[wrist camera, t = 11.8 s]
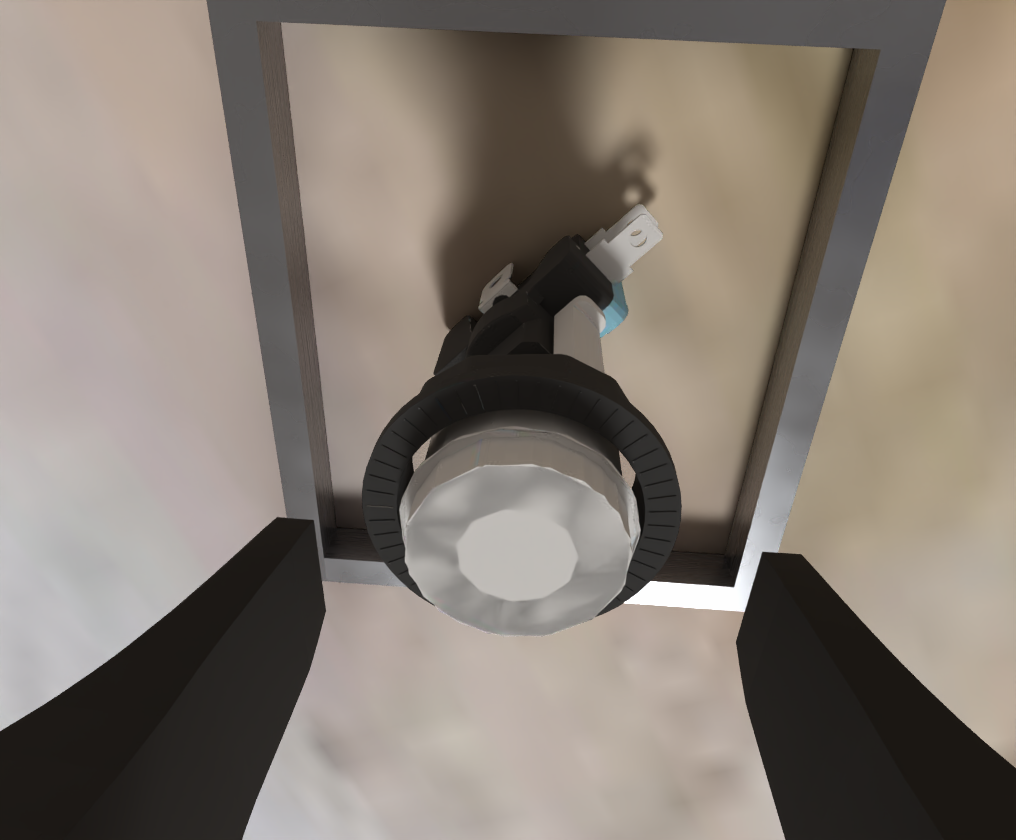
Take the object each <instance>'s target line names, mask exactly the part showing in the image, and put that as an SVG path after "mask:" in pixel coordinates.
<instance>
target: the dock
mask: <svg viewBox="0 0 1016 840" xmlns="http://www.w3.org/2000/svg"><path fill="white" fill-rule="evenodd" d="M945 3H946V0H207V6H208V12H209V19H210V25H211V32H212V38H213V45H214V51H215V58H216V64H217V70H218V77H219V83H220V90H221V96H222V103H223V109H224V115H225V122H226V128H227V135H228V141H229V148H230V154H231V160H232V167H233V173H234V180H235V186H236V193H237V199H238V206H239V212H240V218H241V225H242V231H243V238H244V244H245V251H246V257H247V263H248V270H249V276H250V283H251V289H252V296H253V302H254V308H255V315H256V321H257V328H258V334H259V341H260V347H261V354H262V360H263V366H264V373H265V379H266V386H267V392H268V399H269V405H270V411H271V418H272V424H273V431H274V437H275V444H276V450H277V456H278V463H279V469H280V476H281V482H282V489H283V495H284V502H285V508H286V514H287V518H294V519H308V520H314V524H315V532H316V539H317V547H318V555H319V562H320V570H321V578H322V581H330V582H344V583H358V584H372V585H385V586H399V587H406V586H405V585H404V584H403V583H402V582H401V581H400V580H399V579H398V578H397V577H396V576H395V575H394V574H393V573H392V572H391V570H390V569H389V568H388V567H387V565H386V564H385V563H384V561H383V560H382V559H381V557H380V556H379V554H378V552H377V550H376V549H375V547H374V545H373V543H372V540H371V538H370V536H369V534H368V530H359V529H345V528H336V520H335V511H334V502H333V493H332V484H331V475H330V466H329V457H328V448H327V439H326V430H325V421H324V412H323V403H322V394H321V385H320V376H319V367H318V358H317V349H316V340H315V331H314V322H313V313H312V304H311V295H310V286H309V277H308V268H307V259H306V250H305V241H304V232H303V223H302V214H301V205H300V196H299V187H298V178H297V169H296V160H295V151H294V142H293V133H292V124H291V115H290V106H289V97H288V88H287V79H286V70H285V60H284V51H283V42H282V33H281V24H280V22H289V23H311V24H333V25H355V26H376V27H398V28H420V29H442V30H464V31H486V32H508V33H530V34H551V35H573V36H595V37H617V38H639V39H661V40H683V41H704V42H726V43H748V44H770V45H792V46H814V47H836V48H854V51H853V55H852V59H851V63H850V67H849V70H848V74H847V78H846V82H845V86H844V90H843V94H842V98H841V102H840V106H839V110H838V113H837V117H836V121H835V125H834V129H833V133H832V137H831V141H830V145H829V149H828V153H827V157H826V160H825V164H824V168H823V172H822V176H821V180H820V184H819V188H818V192H817V196H816V200H815V204H814V207H813V211H812V215H811V219H810V223H809V227H808V231H807V235H806V239H805V243H804V247H803V251H802V254H801V258H800V262H799V266H798V270H797V274H796V278H795V282H794V286H793V290H792V294H791V298H790V301H789V305H788V309H787V313H786V317H785V321H784V325H783V329H782V333H781V337H780V341H779V345H778V348H777V352H776V356H775V360H774V364H773V368H772V372H771V376H770V380H769V384H768V388H767V392H766V395H765V399H764V403H763V407H762V411H761V415H760V419H759V423H758V427H757V431H756V435H755V438H754V442H753V446H752V450H751V454H750V458H749V462H748V466H747V470H746V474H745V478H744V482H743V485H742V489H741V493H740V497H739V501H738V505H737V509H736V513H735V517H734V521H733V525H732V529H731V532H730V536H729V540H728V544H727V548H726V552H725V555H717V554H702V553H688V552H674V551H671V553H670V555H669V557H668V559H667V560H666V562H665V563H664V565H663V566H662V568H661V570H660V571H659V572H658V573H657V574H656V576H655V577H654V578H653V579H652V580H651V581H650V582H649V583H648V584H647V585H646V586H645V587H644V588H643V589H642V590H641V591H640V592H638V593H637V594H636V595H635V596H633V597H632V598H631V599H629V600H628V601H626V602H624V603H634V604H648V605H661V606H675V607H689V608H703V609H716V610H730V611H744V612H745V609H746V606H747V602H748V599H749V596H750V592H751V589H752V585H753V582H754V578H755V575H756V571H757V568H758V564H759V561H760V558H761V554H762V552H775V553H778V550H779V547H780V543H781V540H782V537H783V534H784V530H785V527H786V524H787V521H788V517H789V514H790V511H791V507H792V504H793V501H794V498H795V494H796V491H797V488H798V484H799V481H800V478H801V475H802V471H803V468H804V465H805V462H806V458H807V455H808V452H809V448H810V445H811V442H812V439H813V435H814V432H815V429H816V425H817V422H818V419H819V416H820V412H821V409H822V406H823V403H824V399H825V396H826V393H827V389H828V386H829V383H830V380H831V376H832V373H833V370H834V366H835V363H836V360H837V357H838V353H839V350H840V347H841V344H842V340H843V337H844V334H845V330H846V327H847V324H848V321H849V317H850V314H851V311H852V307H853V304H854V301H855V298H856V294H857V291H858V288H859V285H860V281H861V278H862V275H863V271H864V268H865V265H866V262H867V258H868V255H869V252H870V248H871V245H872V242H873V239H874V235H875V232H876V229H877V226H878V222H879V219H880V216H881V212H882V209H883V206H884V203H885V199H886V196H887V193H888V189H889V186H890V183H891V180H892V176H893V173H894V170H895V167H896V163H897V160H898V157H899V153H900V150H901V147H902V144H903V140H904V137H905V134H906V130H907V127H908V124H909V121H910V117H911V114H912V111H913V108H914V104H915V101H916V98H917V94H918V91H919V88H920V85H921V81H922V78H923V75H924V71H925V68H926V65H927V62H928V58H929V55H930V52H931V49H932V45H933V42H934V39H935V35H936V32H937V29H938V26H939V22H940V19H941V16H942V12H943V9H944V6H945Z"/></svg>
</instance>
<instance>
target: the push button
mask: <svg viewBox="0 0 1016 840" xmlns="http://www.w3.org/2000/svg"><path fill="white" fill-rule="evenodd" d="M631 220H633V221H632V222H631V223H630V224H629V225H628V226H627V224H628V223H629V222H630V221H631ZM636 230H641V232H640V233H639V234H637V235H631V234H632V232H634V231H636ZM662 237H663V233H662V232H661V231H660V230H659V228H658V222H657V221H656V220H655V218H654V217H653V216H652V215H651V214H650V213H649V211H648V210H647V209H646V208H645V207H644V206H643V205H642V204H637V205H635V206H634V207H633V208H632V209H631V210H630V211H629V212H628V213H626V214H625V215H624V216H623V217H622V218H621V219H620V220H619V221H618V222H616V223H615V224H614V225H613V226H612V227H611V228H610V229H609V230H607V231H605V230H604V229H603V228H601V229H600V230H599V231H598V232H596V233H595V234H594V235H593V236H592V237H591V238H590V239H589V240H588V241H586V242H585V241H584V240H583V239H582V238H581V237H580V236H579V235H578V234H577V235H575V236H573V237H572V238H571V237H570V236H566V237H564V238H563V239H561V240H560V241H559V242H558V243H557V244H556V245H555V246H553V247H552V248H551V249H550V250H549V252H548V253H547V254H546V255H545V257H544V259H543V260H542V262H541V263H540V265H539V266H538V268H537V269H536V271H534V272H533V273H532V274H531V275H530V276H529V277H528V278H527V279H526V280H525V281H523V282H522V283H521V284H520V285H519V286H518V287H516V286H515V285H514V284H513V283H512V281H511V280H510V279H511V278H512V272H513V266H514V265H513V264H512V263H510V264H508V265H507V266H506V267H505V268H504V269H503V270H502V271H500V272H499V273H498V274H497V275H496V276H495V277H494V278H493V279H492V280H491V281H490V282H489V283H488V284H487V285H486V286H485V288H484V289H483V291H482V295H481V299H480V304H481V305H479V307H478V308H479V310H480V311H481V312H482V313H483V314H484V315H483V316H482V317H481V318H480V319H479V321H478V322H475V321H474V320H473V319H472V318H471V317H470V316H466V317H465V318H463V319H462V320H461V321H460V322H459V323H458V324H457V325H456V326H455V327H454V328H452V330H451V331H450V332H449V333H448V334H447V336H446V337H445V339H444V342H443V345H442V348H441V351H440V354H439V357H438V361H437V364H436V367H435V370H434V375H435V376H434V377H432V378H431V379H429V380H428V381H427V382H426V383H425V384H424V386H423V388H422V390H421V392H420V393H419V394H418V395H417V396H415V397H414V398H413V399H412V400H410V401H409V402H408V403H407V404H406V405H404V406H403V407H402V408H401V409H400V410H399V411H398V412H397V413H396V414H395V416H394V417H393V418H392V419H391V420H390V422H389V423H388V424H387V426H386V427H385V428H384V430H383V431H382V433H381V435H380V437H379V439H378V440H377V442H376V445H375V447H374V449H373V452H372V454H371V457H370V460H369V462H368V465H367V467H366V472H365V476H364V480H363V489H362V508H363V514H364V520H365V524H366V527H367V530H368V534H369V536H370V538H371V540H372V543H373V545H374V547H375V549H376V550H377V552H378V554H379V556H380V557H381V559H382V560H383V561H384V563H385V564H386V565H387V567H388V568H389V569H390V570H391V572H392V573H393V574H394V575H395V576H396V577H397V578H398V579H399V580H400V581H401V582H402V583H403V584H404V585H405V586H406V587H408V588H409V589H410V590H411V591H413V592H414V593H415V594H417V595H418V596H419V597H421V598H422V599H424V600H426V601H427V602H429V603H430V604H432V605H434V606H436V608H437V609H438V610H439V611H440V612H442V613H444V614H446V615H449V616H450V617H451V618H453V619H454V620H455V621H457V622H458V623H460V624H464V625H467V626H470V627H474V628H477V629H479V630H481V631H483V632H486V633H488V634H497V635H500V636H545V635H552V634H555V633H557V632H560V631H563V630H565V629H568V628H571V627H573V626H576V625H579V624H581V623H584V622H587V621H589V620H592V619H593V618H594V617H597V616H599V615H602V614H604V613H606V612H608V611H610V610H612V609H614V608H616V607H618V606H620V605H621V604H623V603H624V602H626V601H628V600H629V599H631V598H632V597H633V596H635V595H636V594H637V593H638V592H640V591H641V590H642V589H643V588H644V587H645V586H646V585H647V584H648V583H649V582H650V581H651V580H652V579H653V578H654V577H655V576H656V574H657V573H658V572H659V571H660V570H661V568H662V566H663V565H664V563H665V562H666V560H667V559H668V557H669V555H670V553H671V551H672V549H673V547H674V544H675V541H676V538H677V535H678V532H679V526H680V521H681V507H682V505H681V493H680V488H679V483H678V479H677V475H676V470H675V466H674V464H673V461H672V458H671V455H670V453H669V451H668V449H667V447H666V445H665V443H664V441H663V439H662V438H661V436H660V435H659V433H658V432H657V430H656V429H655V428H654V426H653V425H652V424H651V423H650V422H649V421H648V419H647V418H646V417H645V416H644V415H643V414H642V413H641V412H640V411H639V410H638V409H636V408H635V407H634V406H633V405H632V404H631V403H630V402H629V401H628V399H627V397H626V396H625V394H624V393H623V391H622V389H621V388H620V386H619V385H618V383H617V381H616V380H614V379H613V378H612V377H611V376H609V375H607V374H605V373H604V365H603V357H602V348H601V340H600V338H601V337H603V336H604V335H605V334H606V333H607V334H608V333H610V332H611V331H612V330H613V329H615V328H616V327H617V326H618V325H619V324H620V323H621V322H622V321H623V320H624V319H625V318H626V316H627V314H628V307H627V305H626V301H625V296H624V292H623V287H622V282H621V281H622V280H623V279H625V278H626V277H627V276H628V275H629V274H631V273H632V272H633V269H632V268H631V267H630V266H631V265H632V264H633V263H634V262H636V261H637V260H638V259H639V258H640V257H641V256H643V255H644V254H645V253H646V252H647V251H648V250H650V249H651V248H652V247H653V246H654V245H655V244H657V243H658V242H659V241H660V240H661V239H662ZM645 238H646V241H645V242H644V244H643V245H641V246H637V245H638V244H640V243H641V242H642V241H643V240H644V239H645ZM500 278H501V279H500ZM499 279H500V280H499ZM498 280H499V281H498ZM497 281H498V282H497ZM496 282H497V283H496ZM495 283H496V284H495ZM494 284H495V285H494ZM429 438H431V441H430V444H429V448H428V451H427V455H426V458H425V461H423V462H422V463H421V464H420V466H419V467H418V468H417V469H416V470H415V472H414V469H413V463H412V456H413V455H414V454H415V452H416V451H417V450H418V449H419V448H420V447H421V446H422V445H423V444H424V443H425V442H426V441H427V440H428V439H429ZM619 451H620V452H621V453H622V454H623V456H624V457H625V458H626V459H627V460H628V462H629V463H630V465H631V466H632V468H633V470H634V471H635V473H636V475H635V481H634V484H633V487H632V489H631V488H630V486H629V485H628V484H627V482H626V481H625V480H624V478H623V477H622V471H621V464H620V457H619Z"/></svg>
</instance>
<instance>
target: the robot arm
mask: <svg viewBox="0 0 1016 840" xmlns="http://www.w3.org/2000/svg"><path fill="white" fill-rule="evenodd" d="M325 612H326V608H325V601H324V593H323V585H322V578H321V570H320V562H319V555H318V547H317V539H316V532H315V524H314V520H308V519H294V518H280V517H277V518H276V519H275V520H273V521H272V522H271V523H270V524H269V525H268V526H266V527H265V528H264V529H263V530H262V531H261V532H260V533H259V534H257V535H256V536H255V537H254V538H253V539H252V540H251V541H250V542H249V543H248V544H247V545H245V546H244V547H243V548H242V549H241V550H240V551H239V552H238V553H237V554H236V555H235V556H233V557H232V558H231V559H230V560H229V561H228V562H227V563H226V564H225V565H223V566H222V567H221V568H220V569H219V570H218V571H217V572H216V573H215V574H214V575H212V576H211V577H210V578H209V579H208V580H207V581H206V582H204V583H203V584H202V585H201V586H200V587H199V588H197V589H196V590H195V591H194V592H193V593H192V594H191V595H189V596H188V597H187V598H186V599H185V600H184V601H183V602H181V603H180V604H179V605H178V606H177V607H176V608H174V609H173V610H172V611H171V612H170V613H168V614H167V615H166V616H165V617H163V618H162V619H161V620H160V621H158V622H157V623H156V624H155V625H153V626H152V627H151V628H150V629H148V630H147V631H146V632H145V633H143V634H142V635H141V636H140V637H138V638H137V639H136V640H135V641H133V642H132V643H131V644H130V645H128V646H127V647H126V648H124V649H123V650H122V651H121V652H119V653H118V654H117V655H115V656H114V657H112V658H111V659H110V660H108V661H107V662H106V663H104V664H103V665H102V666H100V667H99V668H97V669H96V670H95V671H93V672H92V673H90V674H89V675H87V676H86V677H84V678H83V679H82V680H80V681H79V682H77V683H76V684H74V685H73V686H71V687H70V688H68V689H67V690H65V691H64V692H62V693H61V694H60V695H58V696H57V697H55V698H53V699H52V700H50V701H49V702H47V703H46V704H44V705H43V706H41V707H39V708H38V709H36V710H34V711H33V712H31V713H30V714H28V715H26V716H25V717H23V718H21V719H20V720H18V721H16V722H15V723H13V724H11V725H10V726H8V727H6V728H5V729H3V730H2V731H0V840H242V838H243V835H244V832H245V829H246V826H247V824H248V821H249V818H250V815H251V813H252V810H253V807H254V805H255V802H256V799H257V797H258V794H259V792H260V790H261V787H262V785H263V782H264V780H265V778H266V775H267V773H268V770H269V768H270V765H271V763H272V761H273V758H274V756H275V753H276V751H277V749H278V746H279V744H280V741H281V739H282V736H283V734H284V732H285V729H286V727H287V724H288V722H289V720H290V717H291V715H292V712H293V710H294V707H295V705H296V702H297V700H298V698H299V695H300V693H301V690H302V688H303V685H304V683H305V680H306V678H307V675H308V673H309V670H310V667H311V664H312V660H313V657H314V653H315V650H316V646H317V643H318V639H319V635H320V631H321V628H322V624H323V620H324V616H325ZM736 645H737V652H738V658H739V665H740V672H741V678H742V684H743V690H744V695H745V701H746V705H747V709H748V713H749V716H750V720H751V723H752V727H753V730H754V734H755V737H756V741H757V744H758V748H759V751H760V755H761V758H762V762H763V765H764V768H765V772H766V775H767V779H768V782H769V785H770V789H771V792H772V796H773V799H774V802H775V806H776V809H777V813H778V816H779V819H780V823H781V826H782V830H783V833H784V836H785V840H1016V768H1015V767H1014V766H1012V765H1011V764H1010V763H1009V762H1008V761H1006V760H1005V759H1004V758H1003V757H1002V756H1001V755H999V754H998V753H997V752H996V751H995V750H993V749H992V748H991V747H990V746H989V745H988V744H986V743H985V742H984V741H983V740H982V739H981V738H980V737H978V736H977V735H976V734H975V733H974V732H973V731H972V730H971V729H969V728H968V727H967V726H966V725H965V724H964V723H963V722H962V721H961V720H960V719H958V718H957V717H956V716H955V715H954V714H953V713H952V712H951V711H950V710H949V709H948V708H947V707H946V706H945V705H944V704H943V703H942V702H941V701H940V700H939V699H937V698H936V697H935V696H934V695H933V694H932V693H931V692H930V691H929V690H928V689H927V688H926V687H925V686H924V685H923V684H922V683H921V682H920V681H919V680H918V679H917V678H916V677H915V676H914V675H913V674H912V673H911V672H910V671H909V670H908V669H907V668H906V667H905V666H904V665H903V664H902V663H901V662H900V661H899V660H898V659H897V658H896V657H895V656H894V655H893V654H892V653H891V652H890V651H889V650H888V649H887V648H886V647H885V645H884V644H883V643H882V642H881V641H880V640H879V639H878V638H877V637H876V636H875V635H874V634H873V633H872V632H871V631H870V629H869V628H868V627H867V626H866V625H865V624H864V623H863V622H862V621H861V620H860V619H859V618H858V616H857V615H856V614H855V613H854V612H853V611H852V610H851V609H850V608H849V607H848V605H847V604H846V603H845V602H844V601H843V600H842V599H841V598H840V597H839V595H838V594H837V593H836V592H835V591H834V590H833V589H832V588H831V587H830V585H829V584H828V583H827V582H826V581H825V580H824V579H823V578H822V576H821V575H820V574H819V573H818V572H817V571H816V570H815V569H814V568H813V567H812V565H811V564H810V563H809V562H808V561H807V560H806V559H805V558H804V557H803V556H802V555H801V554H789V553H775V552H762V554H761V558H760V561H759V564H758V568H757V571H756V575H755V578H754V582H753V585H752V589H751V592H750V596H749V599H748V602H747V606H746V609H745V613H744V616H743V620H742V623H741V627H740V630H739V633H738V637H737V640H736Z"/></svg>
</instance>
